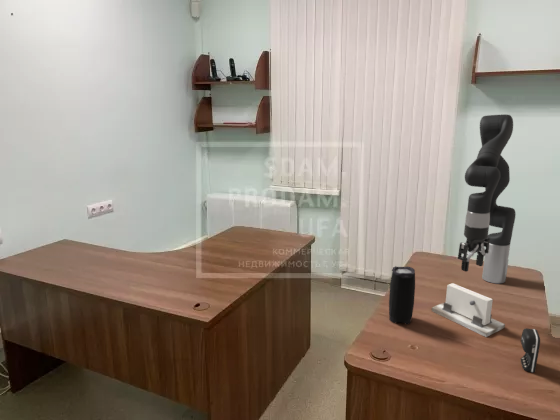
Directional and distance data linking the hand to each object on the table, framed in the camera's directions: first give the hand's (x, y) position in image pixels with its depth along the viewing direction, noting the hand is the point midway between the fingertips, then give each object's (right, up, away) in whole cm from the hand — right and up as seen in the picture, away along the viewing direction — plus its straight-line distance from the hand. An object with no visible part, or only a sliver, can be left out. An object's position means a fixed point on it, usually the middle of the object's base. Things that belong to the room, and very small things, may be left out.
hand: (472, 268), depth 152 cm
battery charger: (+6, -27, -22) cm, 35 cm away
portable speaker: (-24, -20, +5) cm, 31 cm away
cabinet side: (0, -19, +5) cm, 20 cm away
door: (0, -17, +4) cm, 18 cm away
